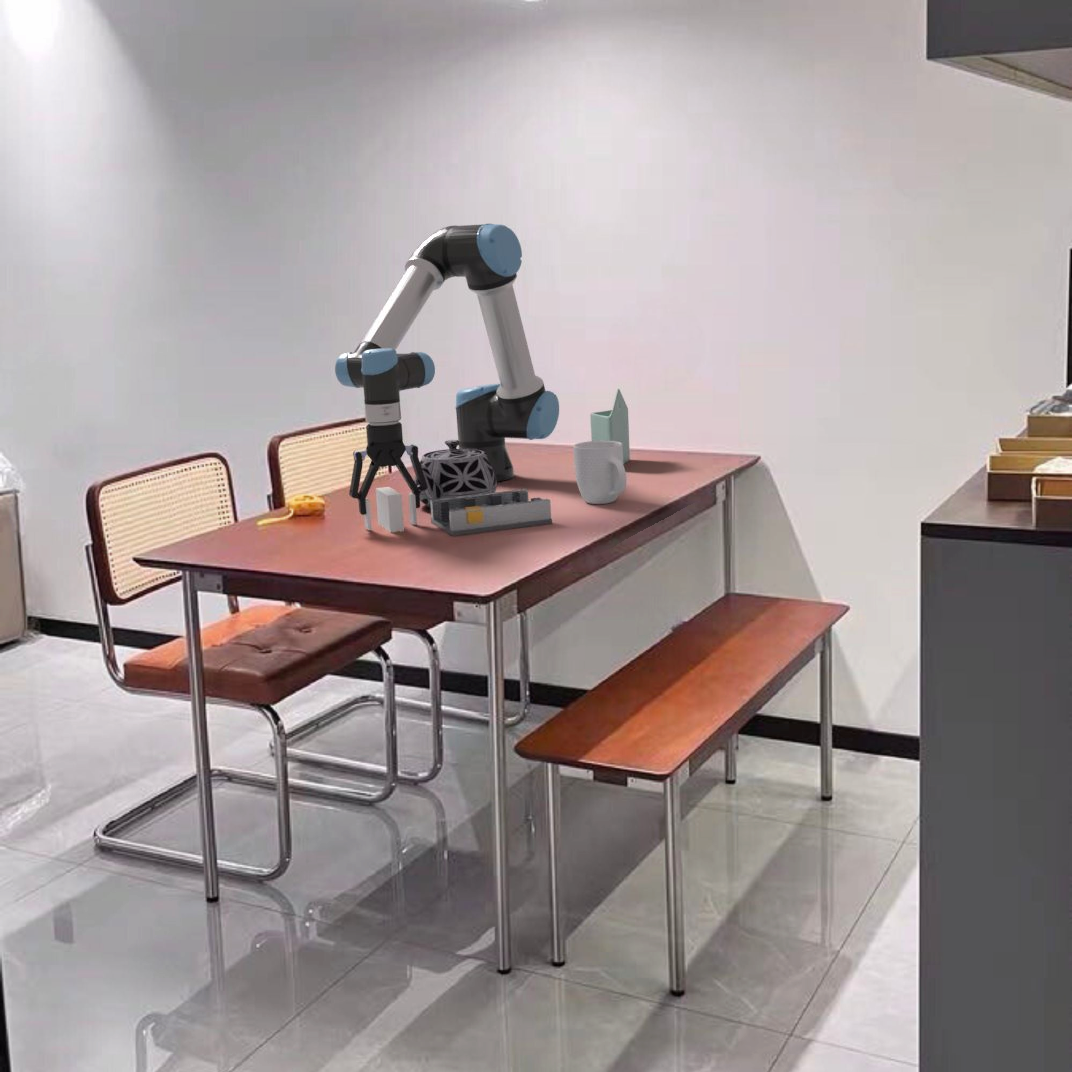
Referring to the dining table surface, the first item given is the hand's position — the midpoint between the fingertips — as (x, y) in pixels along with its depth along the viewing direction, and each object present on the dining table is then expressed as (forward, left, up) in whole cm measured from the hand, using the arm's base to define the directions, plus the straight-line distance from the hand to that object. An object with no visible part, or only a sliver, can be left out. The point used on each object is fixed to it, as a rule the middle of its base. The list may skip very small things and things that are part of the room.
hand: (391, 526), depth 317 cm
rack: (+8, +20, 0) cm, 21 cm away
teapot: (-15, +19, -1) cm, 24 cm away
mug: (+1, +49, 0) cm, 49 cm away
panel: (0, 0, 0) cm, 0 cm away
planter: (-43, +69, -1) cm, 81 cm away
